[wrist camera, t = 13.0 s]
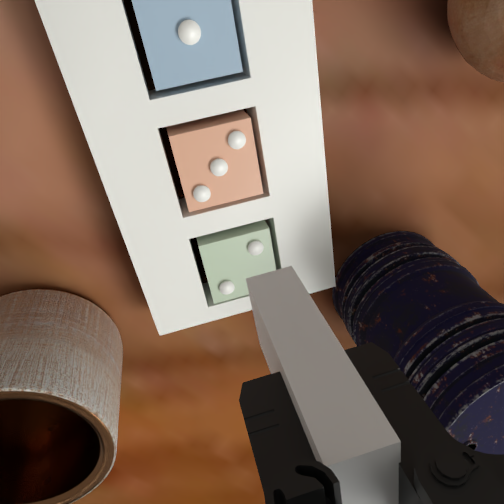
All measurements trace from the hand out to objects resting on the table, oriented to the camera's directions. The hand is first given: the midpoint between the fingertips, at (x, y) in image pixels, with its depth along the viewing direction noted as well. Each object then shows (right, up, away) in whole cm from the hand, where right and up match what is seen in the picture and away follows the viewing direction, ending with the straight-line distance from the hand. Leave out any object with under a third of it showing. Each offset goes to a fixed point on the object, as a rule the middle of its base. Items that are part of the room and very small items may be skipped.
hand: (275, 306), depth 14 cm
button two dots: (-2, +2, +17) cm, 18 cm away
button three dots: (-3, +8, +14) cm, 16 cm away
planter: (-16, -5, +18) cm, 25 cm away
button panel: (-3, +8, +14) cm, 16 cm away
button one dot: (-5, +14, +10) cm, 18 cm away
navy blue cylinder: (+10, -1, +23) cm, 25 cm away
